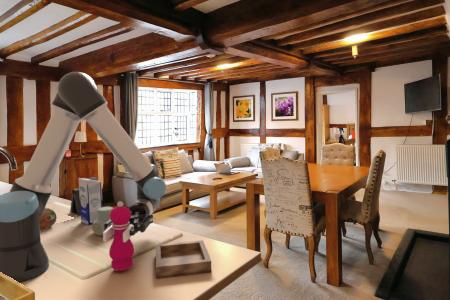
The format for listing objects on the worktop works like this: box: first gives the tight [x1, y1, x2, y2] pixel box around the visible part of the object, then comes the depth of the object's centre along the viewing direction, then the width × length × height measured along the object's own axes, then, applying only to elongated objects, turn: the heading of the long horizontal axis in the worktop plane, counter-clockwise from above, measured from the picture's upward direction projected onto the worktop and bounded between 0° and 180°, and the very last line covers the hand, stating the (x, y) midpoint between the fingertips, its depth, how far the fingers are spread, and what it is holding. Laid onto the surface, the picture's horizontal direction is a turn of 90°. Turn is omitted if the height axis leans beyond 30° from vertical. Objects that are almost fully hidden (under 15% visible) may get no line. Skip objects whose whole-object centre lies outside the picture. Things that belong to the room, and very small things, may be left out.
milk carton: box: [78, 176, 104, 227], centre depth 138 cm, size 7×7×20 cm
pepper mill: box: [108, 201, 135, 271], centre depth 95 cm, size 7×7×20 cm
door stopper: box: [69, 187, 81, 217], centre depth 152 cm, size 9×6×12 cm, turn 52°
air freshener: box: [91, 206, 114, 236], centre depth 126 cm, size 11×8×10 cm
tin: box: [39, 207, 57, 231], centre depth 130 cm, size 15×3×8 cm, turn 126°
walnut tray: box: [155, 240, 212, 279], centre depth 100 cm, size 16×16×4 cm
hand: (114, 237), depth 90 cm, fingers closed on pepper mill, 5 cm apart
